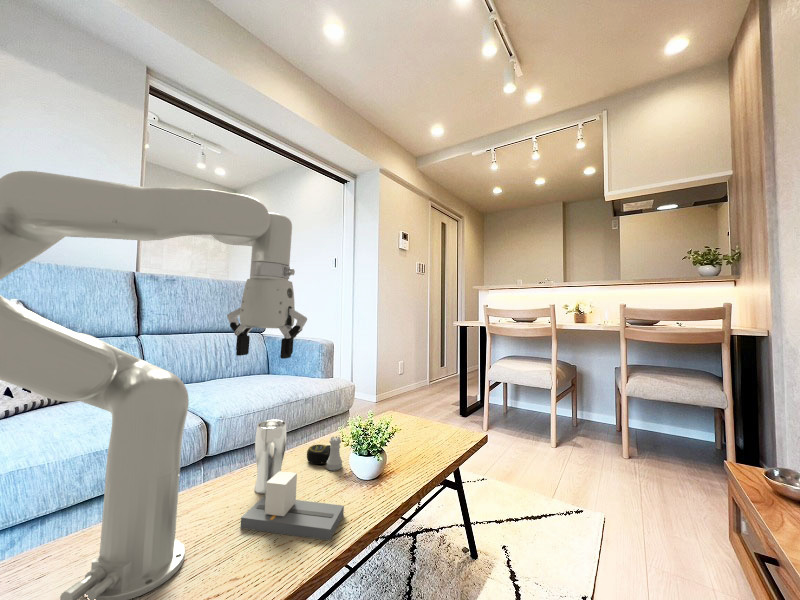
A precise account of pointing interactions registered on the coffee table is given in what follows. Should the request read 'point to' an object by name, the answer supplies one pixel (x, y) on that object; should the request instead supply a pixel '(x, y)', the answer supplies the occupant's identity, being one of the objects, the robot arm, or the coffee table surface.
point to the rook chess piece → (334, 455)
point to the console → (296, 519)
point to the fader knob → (280, 493)
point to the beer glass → (269, 451)
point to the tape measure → (318, 453)
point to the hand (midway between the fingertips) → (263, 356)
